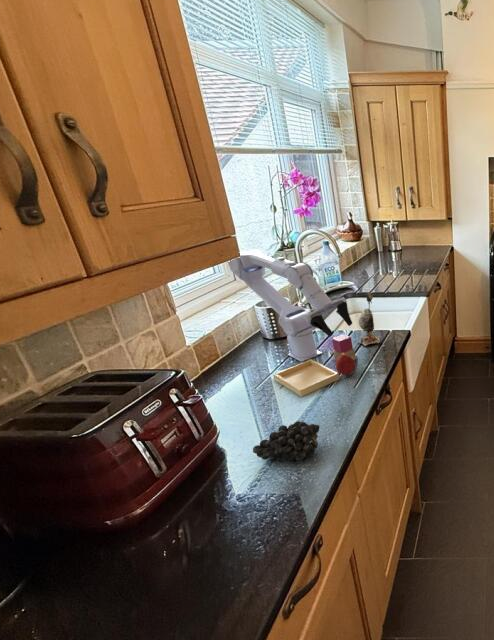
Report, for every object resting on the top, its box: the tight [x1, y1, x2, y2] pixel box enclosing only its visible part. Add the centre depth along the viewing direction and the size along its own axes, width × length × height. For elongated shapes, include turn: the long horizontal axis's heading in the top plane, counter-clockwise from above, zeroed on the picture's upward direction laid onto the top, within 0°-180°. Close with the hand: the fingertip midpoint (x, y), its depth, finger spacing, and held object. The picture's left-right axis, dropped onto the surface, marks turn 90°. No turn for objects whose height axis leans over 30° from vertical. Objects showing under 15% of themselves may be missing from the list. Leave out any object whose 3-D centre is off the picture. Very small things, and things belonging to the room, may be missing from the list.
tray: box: [273, 358, 341, 397], centre depth 127 cm, size 17×13×2 cm
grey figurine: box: [358, 291, 381, 347], centre depth 150 cm, size 8×11×20 cm
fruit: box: [252, 420, 320, 462], centre depth 92 cm, size 9×8×15 cm
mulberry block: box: [331, 333, 354, 353], centre depth 137 cm, size 4×4×4 cm
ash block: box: [332, 348, 357, 362], centre depth 138 cm, size 5×5×4 cm
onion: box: [335, 353, 356, 377], centre depth 127 cm, size 6×6×8 cm
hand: (341, 329), depth 131 cm, fingers open, 7 cm apart
